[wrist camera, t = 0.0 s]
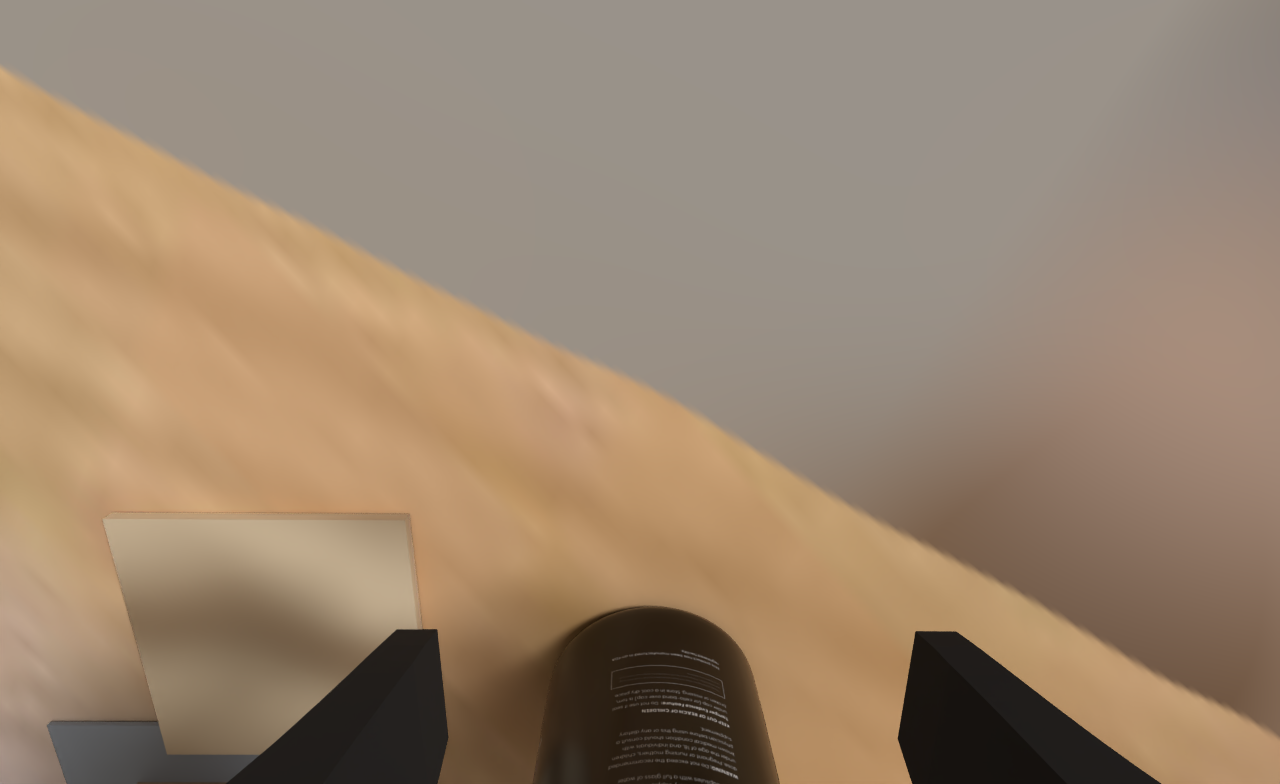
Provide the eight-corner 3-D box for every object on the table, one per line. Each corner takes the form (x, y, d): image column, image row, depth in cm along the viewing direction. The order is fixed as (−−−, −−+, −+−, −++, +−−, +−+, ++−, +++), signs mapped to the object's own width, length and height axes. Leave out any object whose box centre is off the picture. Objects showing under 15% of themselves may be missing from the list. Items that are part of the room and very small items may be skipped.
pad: (435, 745, 23) (432, 754, 22) (175, 744, 23) (167, 754, 22) (409, 513, 20) (405, 520, 20) (112, 512, 20) (102, 519, 19)
